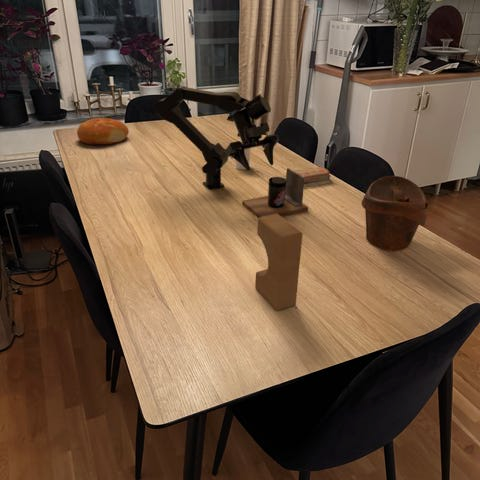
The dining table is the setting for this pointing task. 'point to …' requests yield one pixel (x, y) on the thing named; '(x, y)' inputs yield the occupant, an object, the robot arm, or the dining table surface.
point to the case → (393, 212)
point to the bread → (102, 131)
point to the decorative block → (279, 261)
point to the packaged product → (314, 176)
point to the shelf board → (291, 199)
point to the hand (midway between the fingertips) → (261, 167)
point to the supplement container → (276, 192)
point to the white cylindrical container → (247, 154)
